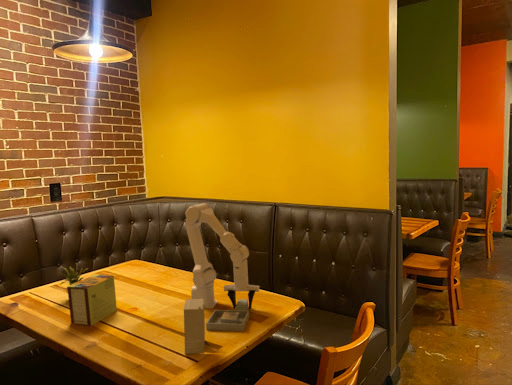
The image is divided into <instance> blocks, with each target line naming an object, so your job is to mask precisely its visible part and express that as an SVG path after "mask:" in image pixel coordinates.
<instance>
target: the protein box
mask: <svg viewBox="0 0 512 385" xmlns="http://www.w3.org/2000/svg"><path fill="white" fill-rule="evenodd" d="M115 287H116V286H115V275H109V274H108V275H107V274H96V273H95V274H92V275H90V276H88V277H84V278H83V279H82V280H81V281H79V282H76V283H74V284H72V285H70V284H69V285H68V286H67V287H66V288H68V292H67V296H68V298H67V299H68V305H69V314H70V323H71V324H73V323H74V324H75V325H80V326H81V325H82V326H87V327H92V326H94V325H96V324H97V323H98V322H100V321H102V320H103V319H105V318H107V317H109V316H110V315H113V313H115V312H117V309H118V308H117V297H116V288H115ZM74 324H73V325H74Z"/></svg>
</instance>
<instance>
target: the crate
mask: <svg viewBox="0 0 512 385" xmlns="http://www.w3.org/2000/svg"><path fill="white" fill-rule="evenodd" d="M224 312H240V322H239V324H230V323H221V317H222V315H223V313H224ZM250 318H251V317H250V310H247V311H245V310H236V309H214V310H213V312H212V313H211V314H210V317H209V318H208V320H207V321H206V322H205V329H206V330H205V331H223V332H224V331H225V332H229V331H230V332H244V331H245V329H246V326H247V324H248V321H249V319H250Z"/></svg>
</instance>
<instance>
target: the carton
mask: <svg viewBox="0 0 512 385" xmlns="http://www.w3.org/2000/svg"><path fill="white" fill-rule="evenodd" d="M235 310H245V311H249V299H243V298H242V299H238V300H237V301H236V308H235Z"/></svg>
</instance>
